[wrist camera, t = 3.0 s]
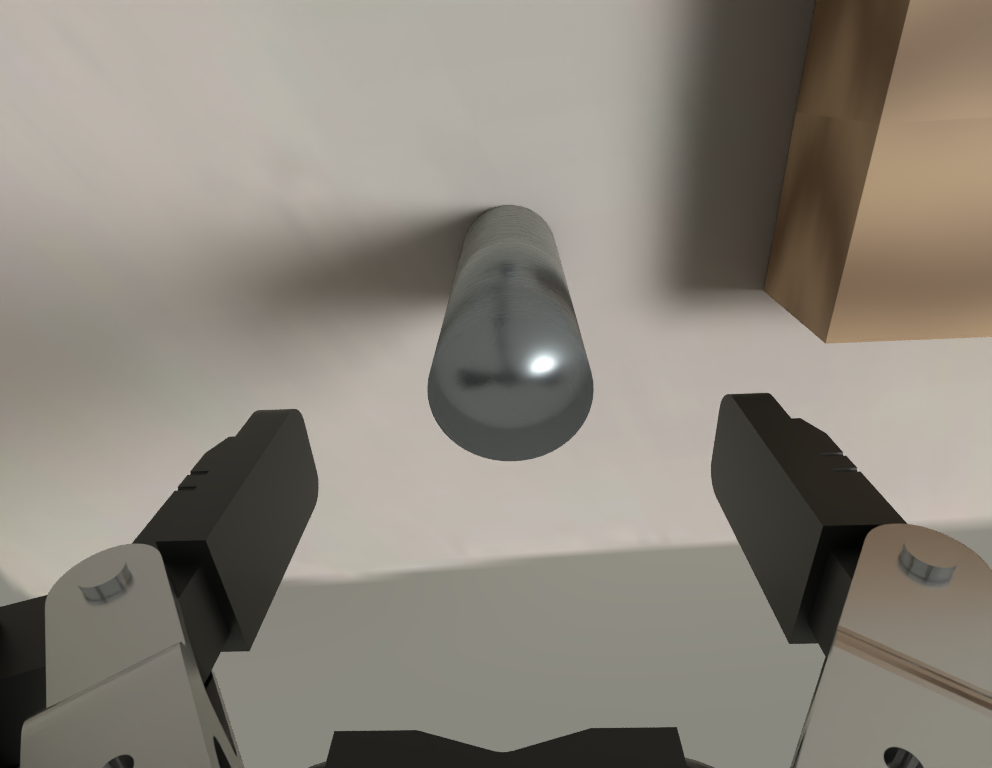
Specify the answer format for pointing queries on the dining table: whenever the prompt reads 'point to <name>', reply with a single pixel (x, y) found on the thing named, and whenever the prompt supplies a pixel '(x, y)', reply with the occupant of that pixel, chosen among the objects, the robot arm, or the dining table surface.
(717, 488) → the robot arm
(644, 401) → the dining table surface
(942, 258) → the block
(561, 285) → the long pin
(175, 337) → the dining table surface
